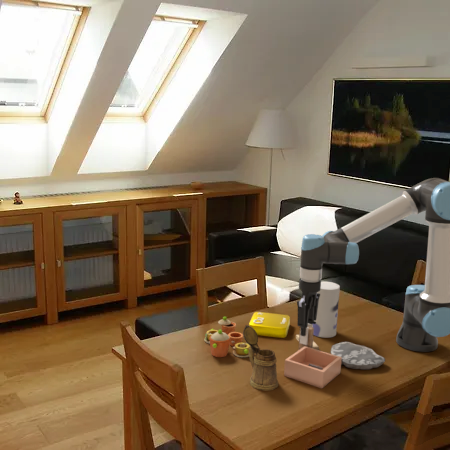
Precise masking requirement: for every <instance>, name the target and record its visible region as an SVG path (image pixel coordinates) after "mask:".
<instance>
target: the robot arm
mask: <svg viewBox="0 0 450 450" xmlns="http://www.w3.org/2000/svg"><path fill="white" fill-rule="evenodd" d="M422 212H424V213H425V216H424V221H425V222H426V223H427V224H428V225H429V226H428V237H427V249H426V250H427V251H426V267H425V277H424V279H425V280H424V284H411V285H409V286H407V288H406V292H405V293H404V294H405V298H404V299H405V300H404V308H403V317H402V318H403V319H402V323H401V325H400V327H399V329H398V331H397V334H396V338H395V339H396V340H395V341H396V343H397V345H398V346H400V347H401V348H404V349H406V350H409V351H414V352H419V353H420V352H421V353H427V352H434V351H436V350H437V349H438V346H439V340H438V338H443V337H447V336H448V335H450V181H448V180H445V179H443V178H439V177H433V178H432V177H431V178H428V179H425V180H423V181H421V182H420V181H419V183H417V184H415V185H413V186H411V187H409V188H407V189H405V190H403V191H402V194H401V195H400V196H398V197H396V198H394V199H393V200H390V201H389V202H386V203H385V204H383V205H381V206H379V207H378V208H376V209H374V210H372V211H370V212H368V213H366V214H364V215H362V216H361V217H359V218H357V219H355V220H353V221H351V222H349V223H348V224H346V225H344V226H342V227H340V228H338V229H336V230H329V231H328V230H327V231H325V232H324V233H323V234H322V235H320V234H314V233H311V234H305V235H304V236H303V237H302V241H301V248H300V249H301V251H300V267H299V281H298V289H299V290H300V291H301V296H300V297H301V298H300V300H297V302H296V305H297V325H296V326H297V327H299V328H300V327H301V330H300V329H299V332H300V343H301V344H304V345H307V343H308V329H309V327H313V324H316V322H315V321H316V318H317V310H318V302H319V297H320V294H319V293H317V292H319V291H320V289H321V282H322V281H321V280H322V276H323V275H322V274H323V265H324V264H334V265H355V264H357V262H358V261H359V256H360V249H359V245H358V243H359V242H362V241H363V240H365V239H366V238H369V237H371V236H372V235H374V234H376V233H378V232H380V231H382V230H384V229H386V228H388V227H390V226H392V225H393V224H395V223H398V222H400V221H402V220H403V219H404V218H406V217H407V218H408V217H409V216H411V215H413V214H414V215H418V214H420V213H422ZM314 320H315V321H314ZM307 326H309V327H307Z"/></svg>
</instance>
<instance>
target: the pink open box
mask: <svg viewBox="0 0 450 450" xmlns="http://www.w3.org/2000/svg"><path fill="white" fill-rule="evenodd" d="M341 360H342V357H340V356H336V355H333V354H331V352H326V351H322V350H320V349H319V350H316V349H313V348H310V347H306V346H304V347H303V348H301V349H300V350H298V349H297V351H296V352H294V353H293V354H291V355H290V356H289V357H287V358H285V359H284V371H283V372H284V373H283V376H284V377H286V378H289V379H292V380H295V381H298V382H302V383H305V384H308V385H310V386H312V387H317V388H319V389H323V388H325V386H327V385H328V384H329V383H331V381H333V380H334V379H335V378H336V377H337V376H338V375H340V374H341V371H342V370H341V368H342V364H341Z"/></svg>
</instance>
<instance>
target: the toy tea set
mask: <svg viewBox="0 0 450 450" xmlns="http://www.w3.org/2000/svg"><path fill="white" fill-rule="evenodd" d="M217 322H218V324H219V325H220V326H221V329H218V330H217V329H214V328H211V329H209V330H207V331H206V334H205V337H204V342H205V343H206V344H209V346H210V354H211V355H212V356H213V357H216V358H223V357H224V358H225V357H227V356H228V355H229V354H228V353H229V348H230V346H231V347H232V349H233V350H232V354H233V356H235V357H238V358H249V349H250V347H251V346H250V345H249V344H248V343H247V342H243V340H244V336H243V332H242V333H241V332H238V331H236V328H237V324H236V322H234V321H230V320H229V319H228V317H227V316H223V317H222V319H220V320H218V321H217Z"/></svg>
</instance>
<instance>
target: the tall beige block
mask: <svg viewBox="0 0 450 450" xmlns="http://www.w3.org/2000/svg"><path fill="white" fill-rule="evenodd" d="M307 327H309V326H307ZM300 330H301V327H300V326H299V334H298V335H299V341H298V349H297V351H298V350H300V349H301V348H303V347H304V346H306V347H310V348H313V341H314V335H313V334H314V328H313V327H309V329H308V343H307V345H304V344H301V343H300Z"/></svg>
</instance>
